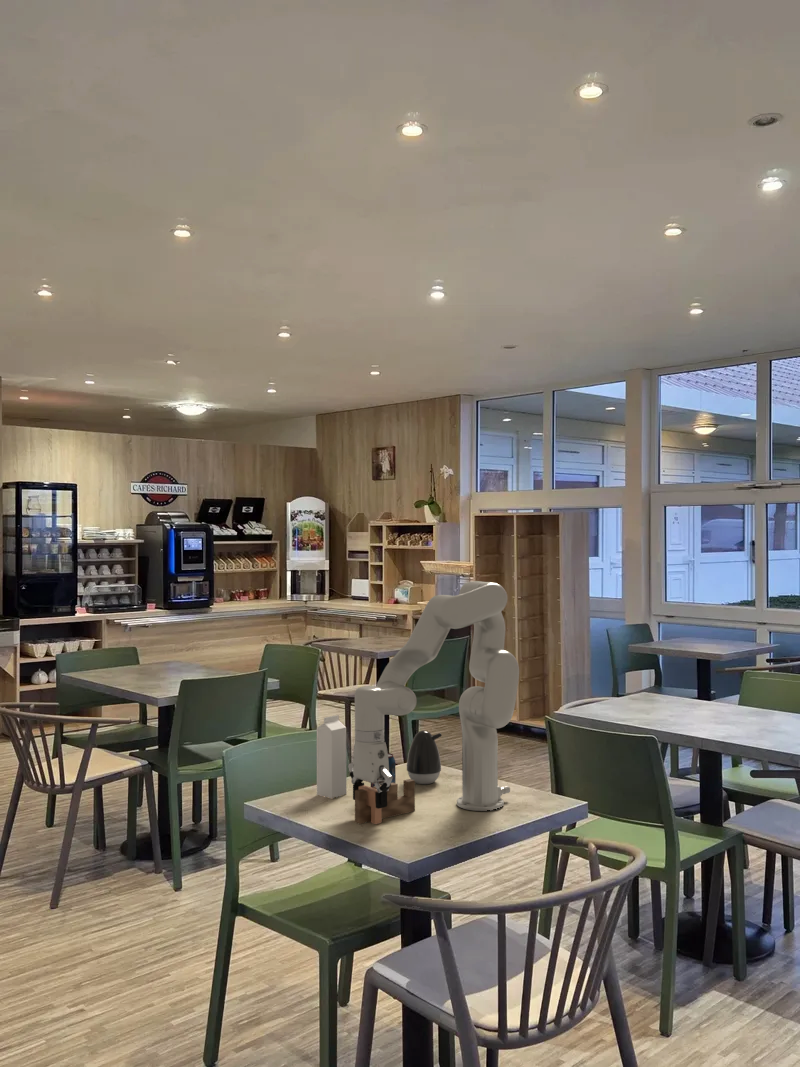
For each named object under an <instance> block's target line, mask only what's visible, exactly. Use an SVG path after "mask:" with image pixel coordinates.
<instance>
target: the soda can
mask: <svg viewBox="0 0 800 1067" xmlns="http://www.w3.org/2000/svg"><path fill="white" fill-rule="evenodd" d="M388 761H389V773H390V774H391V775H392V777H393V779H392V782H391V783H396V759H395V758H394V753H391V752H388ZM377 780H379V779H377ZM379 784H380V785H382V783H379ZM396 784H397V783H396ZM374 786H375V784H374V783H370V787H372V788H373V787H374Z"/></svg>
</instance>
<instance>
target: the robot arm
mask: <svg viewBox="0 0 800 1067" xmlns="http://www.w3.org/2000/svg"><path fill="white" fill-rule="evenodd" d="M507 604H508V594H507V591H506V590H505V588H504V587H503V586H502V585H501V584H498V583H497V582H491V581H481V580H479V581H478V580H473V581H472V580H471V581H467V582H465V583H464V584H463V585H462V586H461V587H460V589H459V592H458V594H456V595H450V594H438V595H434V596H433V597H431V598H430V599H429V600H428V601H427V603H426V605H425V607H424V609H423V610H422V613H421V614H420V617H419V618H418V621H416V622H417V623H416V624H415V627H414V629H413V631H412V632H411V634H410V636H409V638H408V640H407V642H406V643H405V644H404V646H402V647H401V649H400V650H399V651H397V653H396V654H394V656H393V657H392V658H391V660H390V661H389V662H388V663H387V665H385V667H384V669H383V671H382V673H381V675H380V677H379V679H378V681H377V683H376V686H370V685H368V686H366V685H365V686H360V687H357V688H356V690H354V691H355V692H354V744H353V751H352V753H353V754H352V762H350V763H349V764H348V765H347V767H348V771H349V776H350V779H351V784H352V799H353V801H355V790H359V786H364V785H365V782H368V783H370V784H371V783H374V784H375V787H376V789H377V791H378V792H376V808H378V809H379V808H383V807H387V791H389V787H390V786H391V782H392V779H393V777H392V775H391V774H390V773H389V761H388V753H389V751H388V748H387V744H386V743H387V742H386V741H385V715H386V716H387V715H389V716H406V715H408V714H410V713H412V711H413V710H415V708H416V706H417V696H416V693H414V691H413V690H412V689H411V688H410V687H408V686H406V684H407V683H408V680H409V679H410V678H411V676H412V675H413V674H414V673H415V672H416V671H417V670H418V669H419V668H421V667H423V666H424V665H427V664H428V663H430V662H433V661H434V660H435V659H436V658H437V656H438V654H439V652H440V650H441V648H442V646H443V644H444V642H445V640H446V638H447V636H448V634H449V632H450V630H451V629H454V630H458V629H462V628H466V627H469V626H472V625H473V637H472V645H471V651H470V657H469V666H468V668H469V674H470V675H471V677H472V678H474V679H475V680H476V681H479V682H481V683H484V686H480V685H479V686H470V687H468V688H467V689H466V690H464V691H463V692H462V694H461V695H460V698H459V701H458V712H459V713H458V714H459V719H460V725H461V739H462V740H461V742H462V744H461V746H462V747H461V750H462V751H461V755H462V756H461V760H462V762H461V767H462V769H461V770H462V771H461V773H462V776H461V777H462V778H461V779H462V780H461V782H462V786H461V787H462V788H461V789H462V796H459V797H458V798H457V799H456V806H458V807H459V808H461V809H464V810H468V811H472V812H473V811H475V812H488V811H487V810H490V811H494V810H493V809H496V810H498V809H497V808H499V809H501V808H500V807H502V806H503V807H504V803H505V801H504V799H502V795H506V794H509V793H510V792H511V788H510V786H509V785H504V786H500V785H498V784H499V783H498V782H499V779H498V774H499V773H498V770H499V768H498V767H499V766H498V765H499V764H498V763H499V761H498V760H499V758H498V756H499V754H498V747H499V745H498V744H499V742H498V730H497V729H502V728H504V727H505V726H506V725H508V724H509V723H510V721H511V720H512V718H513V715H514V713H515V709H516V708H515V707H516V702H517V694H518V686H519V680H520V667H519V662H518V660H517V658H516V657H515V655H514V654H513V653H511V652H510V651H508V650H505V641H506V640H505V638H506V622H505V618H504V616H503V612H502V611H504V610H505V608H506V607H507ZM377 779H379V780H377ZM364 781H365V782H364ZM379 783H382V785H381V787H380V784H379ZM503 807H502V808H503Z"/></svg>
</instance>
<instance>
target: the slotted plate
mask: <svg viewBox="0 0 800 1067" xmlns="http://www.w3.org/2000/svg"><path fill="white" fill-rule="evenodd" d="M360 789H363V790H366V791H367V805H368V806H371V822H370V823H371V824H374V825H377V824H381V823H382V815H381V808H379V809H378V808H376V792H378V791H377V789H375V788H372V787H371V786H370V785H369V786H368V785H365V784H364V786H359V790H360Z"/></svg>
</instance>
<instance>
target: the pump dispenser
mask: <svg viewBox="0 0 800 1067" xmlns="http://www.w3.org/2000/svg"><path fill="white" fill-rule="evenodd" d="M441 737H443V736H442V733H440V732H439V733H436V734H433V735H432V733H431V732H430V731H428V730H420V731H418V732H417V733H416V734H415V735H414V737H413V739H412V741H411V744H410V747H409V750H408V753H407V761H406V771H407V774H408V776H409V779H412V780H415V784H417V785H430V784H433V783H434V782H436V781H437V780H438V779H439V776H440V775H441V774H440V773H441V771H442V762H441V756H440V752H439V751H440V750H439V747H438V745H437V742H436V740H438V739H440V738H441Z"/></svg>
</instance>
